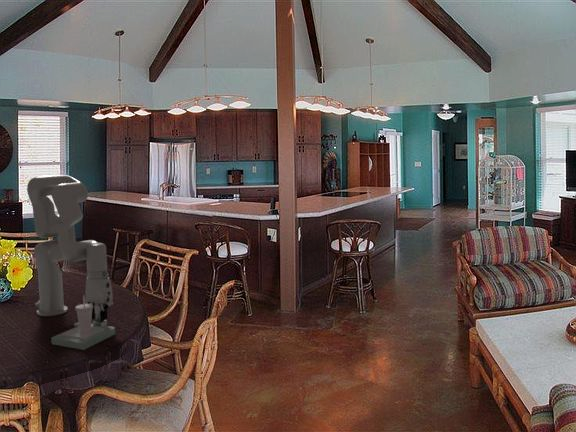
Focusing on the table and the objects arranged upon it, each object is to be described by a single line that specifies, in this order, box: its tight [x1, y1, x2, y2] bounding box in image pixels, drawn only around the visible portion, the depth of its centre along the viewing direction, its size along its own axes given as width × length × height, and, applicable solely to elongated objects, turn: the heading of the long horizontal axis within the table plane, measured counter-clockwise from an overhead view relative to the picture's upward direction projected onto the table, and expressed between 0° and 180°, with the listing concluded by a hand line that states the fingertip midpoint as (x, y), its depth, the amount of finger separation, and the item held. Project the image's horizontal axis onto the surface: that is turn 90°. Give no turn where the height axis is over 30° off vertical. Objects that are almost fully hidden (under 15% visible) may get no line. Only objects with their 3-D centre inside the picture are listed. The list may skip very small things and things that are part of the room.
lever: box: [92, 302, 108, 326], centre depth 213 cm, size 4×4×12 cm
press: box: [51, 321, 116, 351], centre depth 206 cm, size 22×21×3 cm
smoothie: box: [75, 294, 93, 332], centre depth 202 cm, size 6×6×14 cm
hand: (99, 318), depth 213 cm, fingers closed on lever, 3 cm apart
